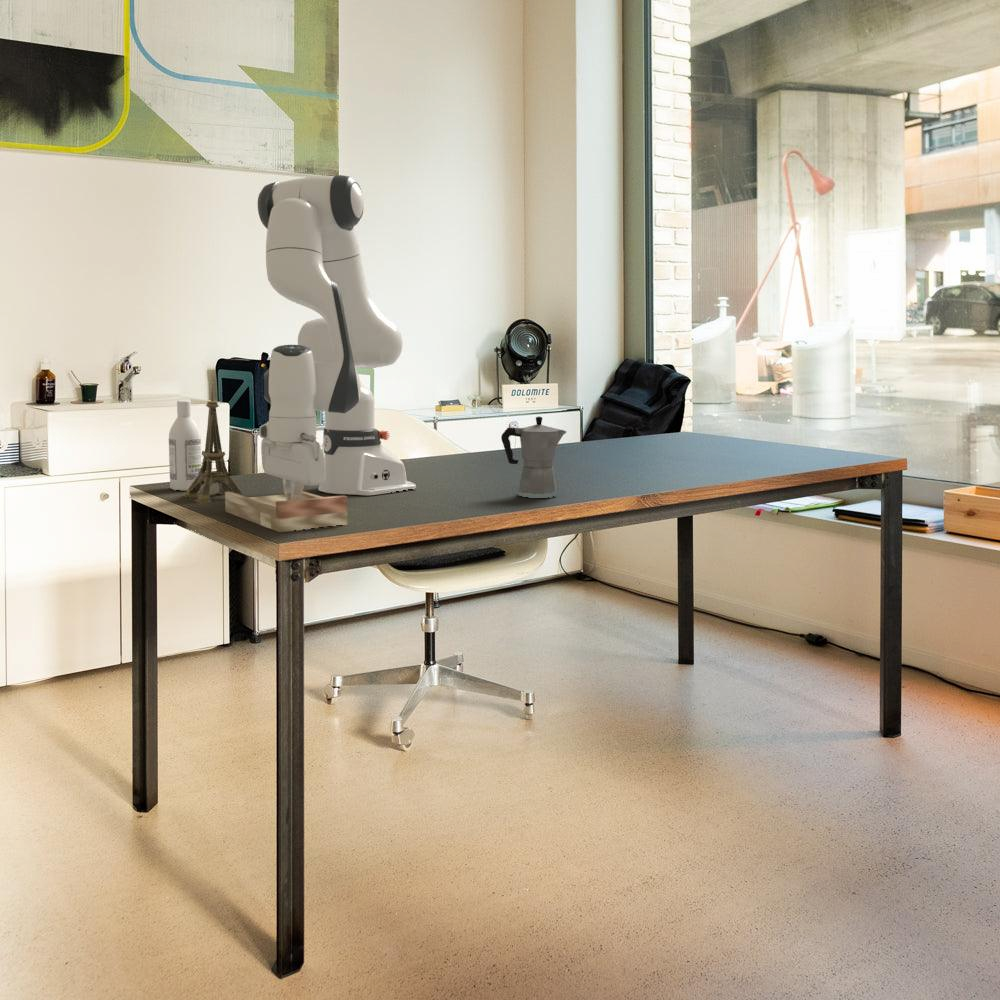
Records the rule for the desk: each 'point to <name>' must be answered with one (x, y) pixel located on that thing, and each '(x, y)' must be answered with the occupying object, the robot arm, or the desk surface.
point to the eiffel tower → (209, 455)
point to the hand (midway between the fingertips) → (293, 502)
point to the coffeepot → (535, 456)
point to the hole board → (289, 510)
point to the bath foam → (184, 449)
